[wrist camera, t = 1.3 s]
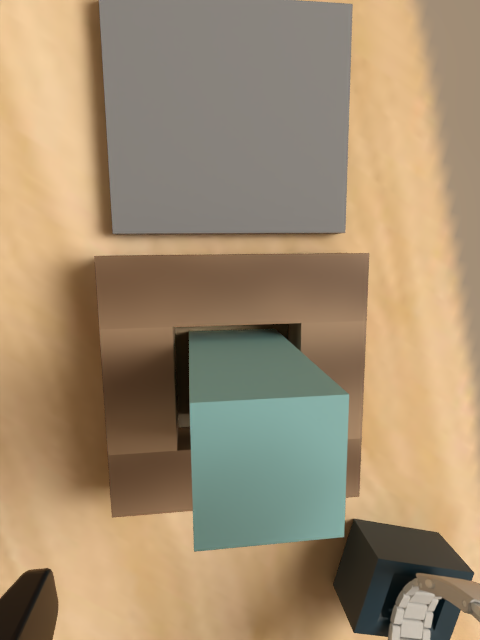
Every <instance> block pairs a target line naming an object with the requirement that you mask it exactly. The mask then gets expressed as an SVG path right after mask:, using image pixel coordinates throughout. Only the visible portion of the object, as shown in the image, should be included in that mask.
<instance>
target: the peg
mask: <svg viewBox="0 0 480 640" xmlns="http://www.w3.org/2000/svg"><path fill="white" fill-rule="evenodd" d="M189 404H190V436H191V468H192V499H193V531H194V552H195V551H205V550H216V549H226V548H236V547H247V546H257V545H267V544H277V543H288V542H298V541H308V540H319V539H329V538H339V537H344V526H345V498H346V471H347V443H348V415H349V394H348V393H347V392H346V391H345V390H344V389H343V388H341V387H340V386H339V385H338V384H337V383H336V382H335V381H334V380H332V379H331V378H330V377H329V376H328V375H327V374H326V373H324V372H323V371H322V370H321V369H320V368H319V367H318V366H317V365H315V364H314V363H313V362H312V361H311V360H310V359H309V358H308V357H306V356H305V355H304V354H303V353H302V352H301V351H300V350H298V349H297V348H296V347H295V346H294V345H293V344H292V343H291V342H289V341H288V340H287V339H286V338H285V337H284V336H283V335H282V334H280V333H279V332H278V331H277V330H276V329H245V330H215V331H189Z"/></svg>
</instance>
